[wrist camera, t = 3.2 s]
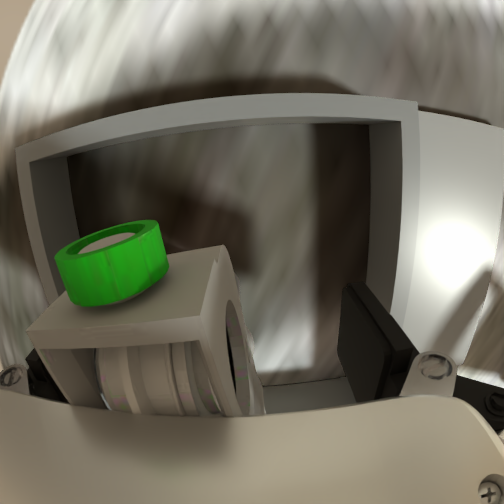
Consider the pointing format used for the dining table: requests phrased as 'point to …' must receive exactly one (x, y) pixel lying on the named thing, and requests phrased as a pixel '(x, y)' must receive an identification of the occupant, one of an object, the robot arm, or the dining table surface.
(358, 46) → the dining table surface
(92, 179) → the dining table surface
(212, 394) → the mechanical component
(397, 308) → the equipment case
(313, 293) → the dining table surface
